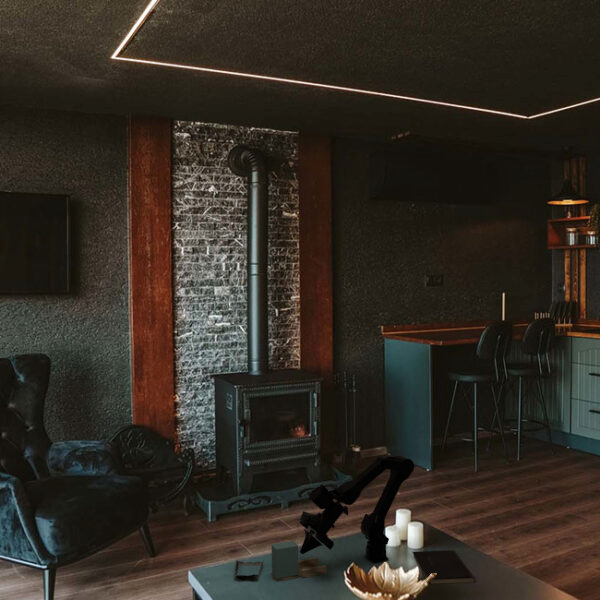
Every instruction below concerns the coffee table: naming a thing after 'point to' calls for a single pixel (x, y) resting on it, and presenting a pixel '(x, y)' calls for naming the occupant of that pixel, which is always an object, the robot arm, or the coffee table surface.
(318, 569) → the chute
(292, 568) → the block
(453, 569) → the hardcover book
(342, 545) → the coffee table surface
